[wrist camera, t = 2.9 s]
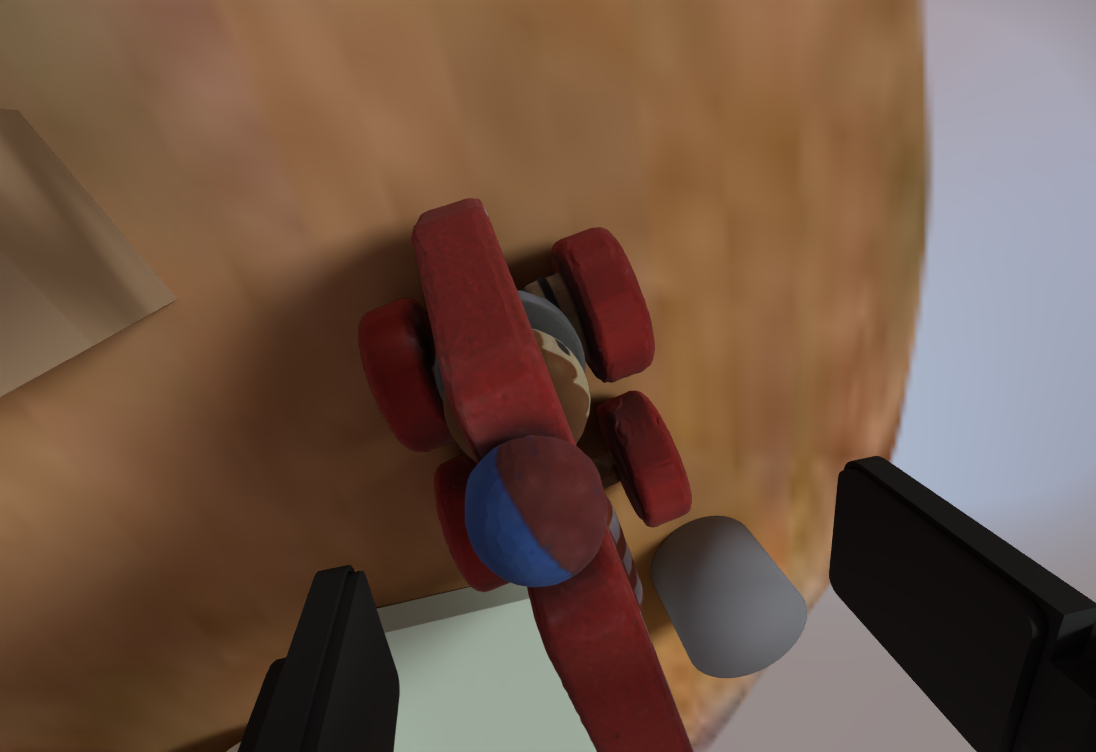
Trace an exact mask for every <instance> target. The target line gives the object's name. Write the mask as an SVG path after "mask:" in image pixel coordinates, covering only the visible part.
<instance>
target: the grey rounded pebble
mask: <svg viewBox="0 0 1096 752" xmlns="http://www.w3.org/2000/svg"><path fill="white" fill-rule="evenodd" d="M651 579H652V582H653V585H654V587H655V589H656V591H657V593H658V595H659V597H660V599H661V601H662V603H663V605H664V607H665V609H666V611H667V613H668V615H669V617H670V619H671V622H672V624H673V626H674V628H675V630H676V632H677V634H678V636H679V638H680V640H681V642H682V644H683V646H684V648H685V650H686V652H687V654H688V656H689V658H690V660H691V662H692V664H693V665H694V666H695V667H696V668H697V669H698V670H699V671H701V672H703V673H704V674H707V675H709V676H713V677H718V678H735V677H741V676H746V675H749V674H752V673H755V672H757V671H760V670H762V669H764V668H766V667H768V666H770V665H771V664H773V663H774V662H776V661H777V660H779V659H780V658H781V657H782V656H784V655H785V654H786V653H787V652H788V651H789V650H790V649H791V648H792V647H793V645H794V644H795V643H796V642H797V640H798V639H799V637H800V635H801V634H802V631H803V630H804V627H805V624H806V620H807V606H806V603H805V600H804V598H803V597H802V595H801V594H800V593H799V591H798V590H797V589H796V588H795V586H794V585H793V584H792V583H791V582H790V580H789V579H788V578H787V577H786V575H785V574H784V573H783V572H782V570H781V569H780V568H779V567H778V566H777V564H776V563H775V562H774V561H773V559H772V558H771V557H770V556H769V554H768V553H767V552H766V551H765V549H764V548H763V547H762V546H761V545H760V543H759V542H758V541H757V540H756V538H755V537H754V536H753V535H752V533H751V532H750V531H749V530H748V529H747V527H746V526H745V525H743V524H742V523H741V522H739V521H737V520H735V519H733V518H730V517H725V516H708V517H703V518H699V519H696V520H693V521H690V522H688V523H686V524H684V525H682V526H681V527H679V528H678V529H676V530H675V531H674V532H672V533H671V534H670V535H669V536H668V537H667V538H666V539H665V540H664V541H663V542H662V544H661V545H660V546H659V548H658V550H657V551H656V553H655V555H654V558H653V561H652V565H651Z"/></svg>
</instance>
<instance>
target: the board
mask: <svg viewBox="0 0 1096 752" xmlns="http://www.w3.org/2000/svg"><path fill="white" fill-rule="evenodd" d="M377 612H378V615H379V618H380V621H381V624H382V627H383V630H384V633H385V636H386V639H387V642H388V645H389V648H390V651H391V654H392V657H393V660H394V663H395V666H396V669H397V672H398V676H399V684H400V697H399V706H398V715H397V725H396V734H395V743H394V752H597V751H596V749H595V747H594V745H593V743H592V741H591V740H590V737H589V735H588V733H587V731H586V729H585V728H584V726H583V724H582V723H581V720H580V716H579V715H578V714H577V712H576V710H575V708H574V706H573V704H572V702H571V700H570V699H569V696H568V694H567V692H566V690H565V689H564V688H563V685H562V682H561V679H560V678H559V676H558V674H557V672H556V671H555V669H554V667H553V664H552V662H551V661H550V660H549V657H548V655H547V653H546V650H545V648H544V645H543V642H542V639H541V636H540V634H539V631H538V628H537V625H536V622H535V619H534V615H533V611H532V606H531V602H530V599H529V595H528V590H527V586H520V585H516V584H513V583H508V584H506V585H503V586H501V587H499V588H496V589H494V590H492V591H488V592H479V591H476V590H475V589H473V588H472V587H468V588H463V589H459V590H455V591H450V592H446V593H442V594H438V595H433V596H429V597H425V598H420V599H416V600H412V601H407V602H403V603H399V604H395V605H390V606H386V607H382V608H377Z"/></svg>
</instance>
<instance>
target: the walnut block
mask: <svg viewBox="0 0 1096 752" xmlns="http://www.w3.org/2000/svg"><path fill="white" fill-rule="evenodd" d="M176 299H178V298H177V297H176V296H175V295H174V294H173V292H172V291H171V290H170V289H169V288H168V286H167V285H166V284H165V283H164V282H163V281H162V279H161V278H160V277H159V276H158V275H157V274H156V272H155V271H154V270H153V269H152V268H151V266H150V265H149V264H148V263H147V262H146V261H145V259H144V258H143V257H142V256H141V255H140V253H139V252H138V251H137V250H136V249H135V248H134V246H133V245H132V244H131V243H130V242H129V241H128V239H127V238H126V237H125V236H124V235H123V233H122V232H121V231H120V230H119V229H118V228H117V226H116V225H115V224H114V223H113V222H112V220H111V219H110V218H109V217H108V216H107V215H106V213H105V212H104V211H103V210H102V209H101V208H100V206H99V205H98V204H97V203H96V202H95V200H94V199H93V198H92V197H91V196H90V195H89V193H88V192H87V191H86V190H85V189H84V187H83V186H82V185H81V184H80V183H79V182H78V180H77V179H76V178H75V177H74V176H73V175H72V173H71V172H70V171H69V170H68V169H67V167H66V166H65V165H64V164H63V163H62V162H61V160H60V159H59V158H58V157H57V156H56V154H55V153H54V152H53V151H52V150H51V149H50V147H49V146H48V145H47V144H46V143H45V141H44V140H43V139H42V138H41V137H40V136H39V134H38V133H37V132H36V131H35V130H34V129H33V127H32V126H31V125H30V124H29V123H28V121H27V120H26V119H25V118H24V117H23V116H22V114H21V113H20V112H19V111H15V110H5V109H0V397H1V396H3V395H5V394H7V393H8V392H10V391H12V390H14V389H16V388H18V387H19V386H21V385H23V384H25V383H27V382H28V381H30V380H32V379H34V378H36V377H38V376H39V375H41V374H43V373H45V372H47V371H48V370H50V369H52V368H54V367H56V366H58V365H59V364H61V363H63V362H65V361H67V360H68V359H70V358H72V357H74V356H76V355H78V354H79V353H81V352H83V351H85V350H87V349H88V348H90V347H92V346H94V345H96V344H98V343H99V342H101V341H103V340H105V339H106V338H108V337H110V336H112V335H114V334H115V333H117V332H119V331H121V330H123V329H124V328H126V327H128V326H130V325H132V324H133V323H135V322H137V321H139V320H141V319H142V318H144V317H146V316H148V315H150V314H151V313H153V312H155V311H157V310H159V309H160V308H162V307H164V306H166V305H167V304H169V303H171V302H173V301H175V300H176Z"/></svg>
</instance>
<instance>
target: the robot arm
mask: <svg viewBox="0 0 1096 752" xmlns="http://www.w3.org/2000/svg"><path fill="white" fill-rule="evenodd" d="M829 579H830V583H831V585H832V587H833V589H834V591H835V592H836V594H837V595H838V596H839V597H840V598H841V600H842V601H843V602H844V603H845V604H846V605H847V606H848V608H849V609H850V610H851V611H852V612H853V613H854V614H855V615H856V616H857V618H858V619H859V620H860V621H861V622H862V623H863V624H864V626H865V627H866V628H867V629H868V630H869V631H870V632H871V633H872V635H873V636H874V637H875V638H876V639H877V640H878V641H879V642H880V644H881V645H882V646H883V647H884V648H885V649H886V650H887V651H888V653H889V654H890V655H891V656H892V657H893V658H894V659H895V660H896V661H897V663H898V664H899V665H900V666H901V667H902V668H903V669H904V671H905V672H906V673H907V674H908V675H909V676H910V677H911V678H912V680H913V681H914V682H915V683H916V684H917V685H918V686H919V687H920V688H921V690H922V691H923V692H924V693H925V694H926V695H927V696H928V698H930V700H931V701H932V702H933V703H934V704H935V705H936V707H937V708H938V709H939V710H940V711H941V712H942V713H943V714H944V716H945V717H946V718H947V719H948V720H949V721H950V722H951V723H952V725H953V726H954V727H955V728H956V729H957V730H958V731H959V733H961V735H962V736H963V737H964V738H965V739H966V740H967V741H968V743H969V744H970V745H971V746H972V747H973V748H974V749H975V750H976V751H977V752H1096V603H1095V602H1093V601H1092V600H1091V599H1089V598H1088V597H1086V596H1085V595H1083V594H1082V593H1080V592H1079V591H1077V590H1076V589H1075V588H1073V587H1072V586H1070V585H1069V584H1067V583H1066V582H1064V581H1063V580H1061V579H1060V578H1058V577H1057V576H1056V575H1054V574H1053V573H1051V572H1050V571H1048V570H1047V569H1045V568H1044V567H1042V566H1041V565H1039V564H1038V563H1036V562H1035V561H1034V560H1032V559H1031V558H1029V557H1028V556H1026V555H1025V554H1023V553H1022V552H1020V551H1019V550H1017V549H1016V548H1014V547H1013V546H1012V545H1010V544H1009V543H1007V542H1006V541H1004V540H1003V539H1001V538H1000V537H998V536H997V535H996V534H994V533H993V532H991V531H990V530H988V529H987V528H985V527H984V526H982V525H981V524H979V523H978V522H976V521H975V520H973V519H972V518H971V517H969V516H967V515H966V514H965V513H963V512H962V511H960V510H959V509H957V508H956V507H954V506H953V505H952V504H950V503H949V502H947V501H946V500H944V499H943V498H941V497H940V496H938V495H937V494H935V493H934V492H933V491H931V490H930V489H928V488H927V487H925V486H924V485H922V484H921V483H919V482H918V481H916V480H915V479H913V478H912V477H911V476H909V475H908V474H906V473H905V472H903V471H902V470H900V469H899V468H897V467H896V466H895V465H893V464H892V463H890V462H889V461H887V460H886V459H884V458H882V457H880V456H873V457H869V458H864V459H859V460H854V461H850V462H848V463H847V464H846V465H845V467H844V470H843V471H841V472H840V473H839V476H838V484H837V495H836V505H835V516H834V527H833V537H832V548H831V559H830V569H829ZM399 697H400V684H399V676H398V672H397V669H396V666H395V663H394V660H393V657H392V654H391V651H390V648H389V645H388V642H387V639H386V636H385V633H384V630H383V627H382V624H381V621H380V618H379V615H378V612H377V609H376V605H375V602H374V599H373V596H372V593H371V590H370V587H369V584H368V581H367V578H366V575H365V573H364V572H363V571H358V572H355V571H354V569H353V567H352V566H351V565H346V566H342V567H337V568H332V569H327V570H322V571H318V572H317V573H316V575H315V577H314V579H313V582H312V585H311V588H310V591H309V594H308V596H307V599H306V602H305V605H304V608H303V611H302V614H301V617H300V620H299V622H298V625H297V628H296V631H295V634H294V637H293V640H292V643H291V645H290V648H289V651H288V654H287V657H286V658H282V659H277V660H275V661H274V662H273V663H272V664H271V666H270V668H269V670H268V672H267V674H266V677H265V679H264V682H263V685H262V687H261V690H260V693H259V695H258V698H257V701H256V703H255V706H254V709H253V711H252V714H251V717H250V719H249V722H248V725H247V727H246V730H245V733H244V735H243V738H242V741H241V743H240V746H239V749H238V751H237V752H394V743H395V734H396V725H397V715H398V706H399Z"/></svg>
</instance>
